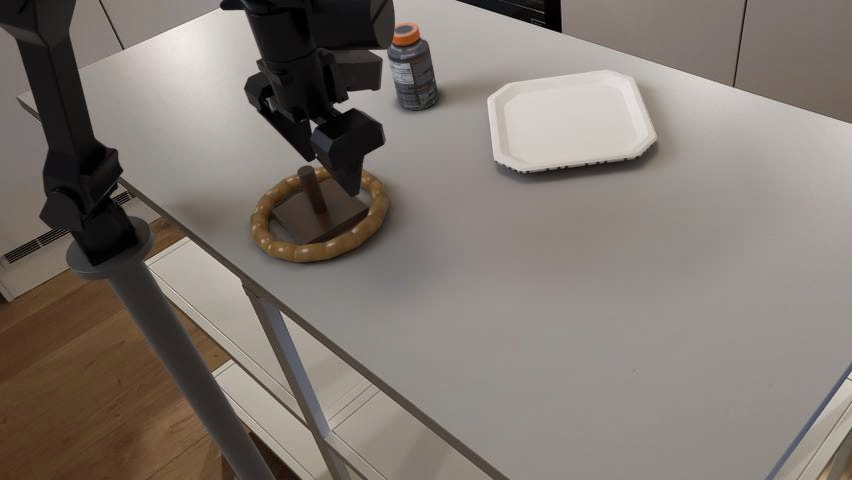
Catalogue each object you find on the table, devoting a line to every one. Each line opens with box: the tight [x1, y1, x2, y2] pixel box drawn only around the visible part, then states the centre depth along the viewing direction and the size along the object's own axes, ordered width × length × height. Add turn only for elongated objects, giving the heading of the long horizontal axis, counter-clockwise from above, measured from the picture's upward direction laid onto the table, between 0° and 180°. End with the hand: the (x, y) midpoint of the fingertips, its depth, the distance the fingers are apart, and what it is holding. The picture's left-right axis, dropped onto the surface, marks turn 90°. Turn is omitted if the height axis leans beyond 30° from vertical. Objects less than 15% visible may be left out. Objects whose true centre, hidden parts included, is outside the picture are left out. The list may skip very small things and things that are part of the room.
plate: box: [486, 69, 658, 174], centre depth 100 cm, size 21×21×2 cm
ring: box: [250, 166, 390, 264], centre depth 94 cm, size 17×17×2 cm
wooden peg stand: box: [271, 164, 370, 245], centre depth 92 cm, size 9×9×7 cm
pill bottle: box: [386, 22, 439, 111], centre depth 107 cm, size 6×6×11 cm
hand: (332, 177), depth 83 cm, fingers open, 9 cm apart
